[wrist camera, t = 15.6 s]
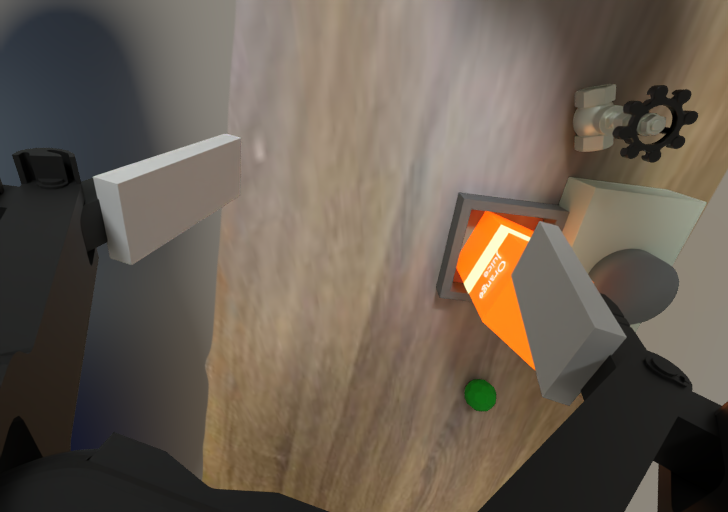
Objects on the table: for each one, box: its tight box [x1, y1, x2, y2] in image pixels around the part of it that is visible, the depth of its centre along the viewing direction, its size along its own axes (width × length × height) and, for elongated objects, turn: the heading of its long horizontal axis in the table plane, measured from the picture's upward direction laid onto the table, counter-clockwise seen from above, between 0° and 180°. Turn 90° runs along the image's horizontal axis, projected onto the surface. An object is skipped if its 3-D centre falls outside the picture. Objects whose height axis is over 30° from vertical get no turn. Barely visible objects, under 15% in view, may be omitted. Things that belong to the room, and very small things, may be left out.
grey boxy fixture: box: [436, 177, 707, 333], centre depth 45 cm, size 22×26×9 cm
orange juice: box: [456, 211, 594, 370], centre depth 40 cm, size 8×9×20 cm
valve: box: [573, 84, 698, 162], centre depth 36 cm, size 7×7×12 cm
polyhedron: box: [464, 379, 496, 411], centre depth 58 cm, size 5×5×5 cm
